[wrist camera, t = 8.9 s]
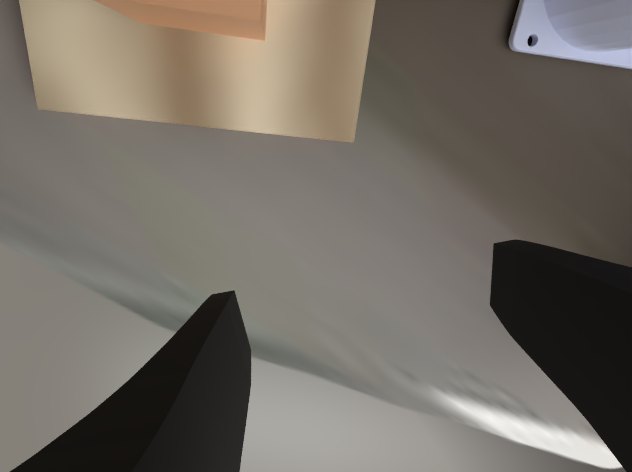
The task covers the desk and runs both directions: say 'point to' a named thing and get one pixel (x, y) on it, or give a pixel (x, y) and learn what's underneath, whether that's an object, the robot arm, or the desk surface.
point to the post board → (204, 67)
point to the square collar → (199, 15)
